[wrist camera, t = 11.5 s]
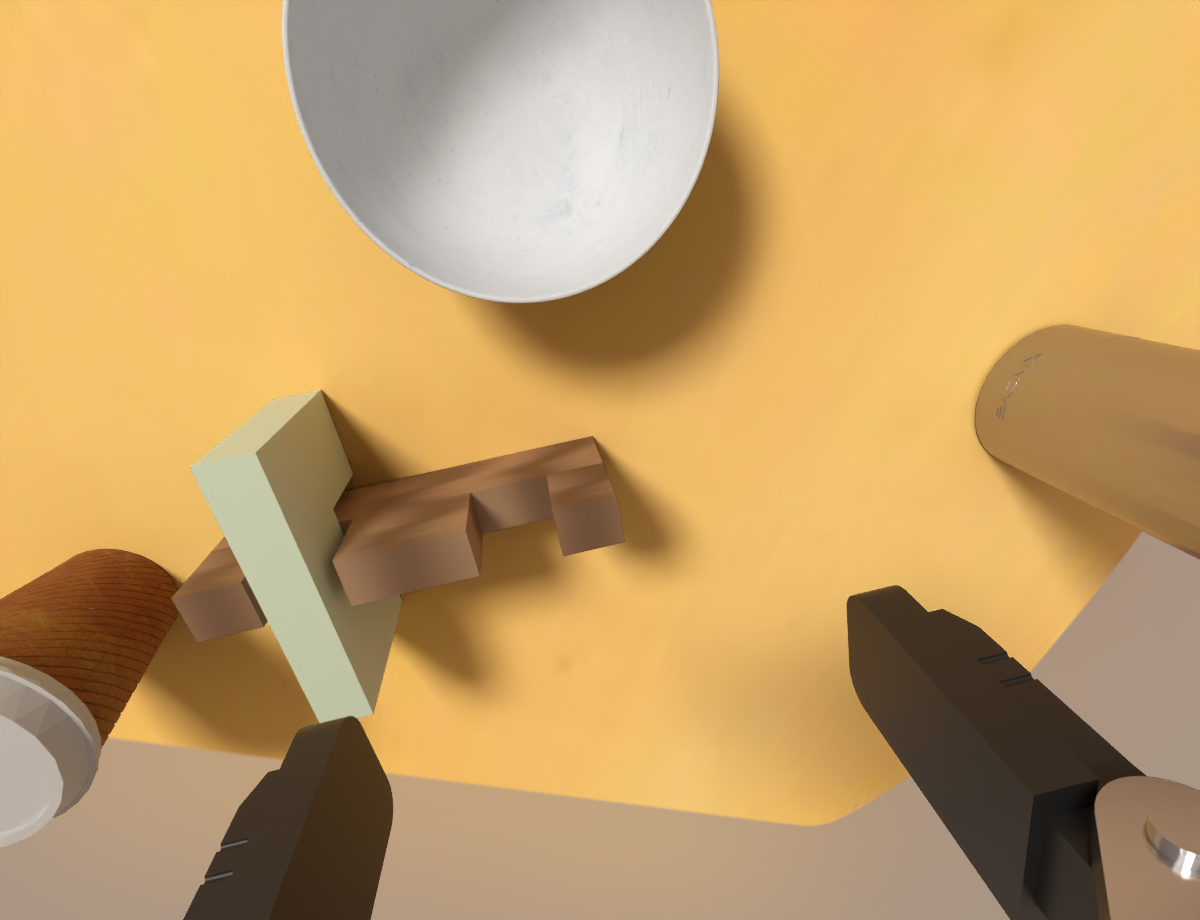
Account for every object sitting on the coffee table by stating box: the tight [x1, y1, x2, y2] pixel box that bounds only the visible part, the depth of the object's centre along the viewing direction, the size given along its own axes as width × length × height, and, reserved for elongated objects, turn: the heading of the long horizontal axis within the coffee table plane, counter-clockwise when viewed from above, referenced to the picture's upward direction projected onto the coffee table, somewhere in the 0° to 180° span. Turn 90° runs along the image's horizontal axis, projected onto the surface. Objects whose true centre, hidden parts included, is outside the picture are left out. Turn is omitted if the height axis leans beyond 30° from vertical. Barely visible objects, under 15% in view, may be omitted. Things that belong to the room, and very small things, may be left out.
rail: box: [171, 436, 625, 642], centre depth 31 cm, size 20×2×8 cm, turn 100°
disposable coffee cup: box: [0, 549, 178, 847], centre depth 28 cm, size 10×10×12 cm
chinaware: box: [282, 0, 719, 303], centre depth 24 cm, size 15×15×8 cm
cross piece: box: [190, 390, 402, 723], centre depth 30 cm, size 14×2×9 cm, turn 10°
